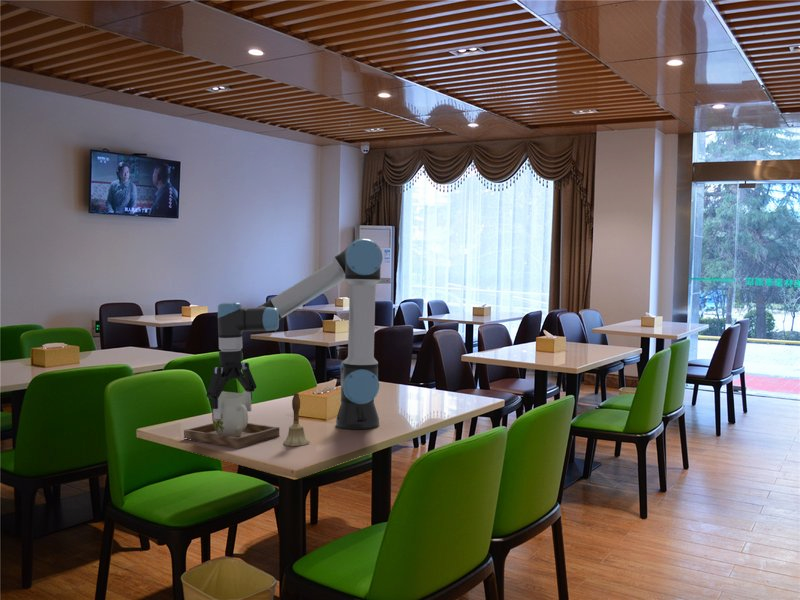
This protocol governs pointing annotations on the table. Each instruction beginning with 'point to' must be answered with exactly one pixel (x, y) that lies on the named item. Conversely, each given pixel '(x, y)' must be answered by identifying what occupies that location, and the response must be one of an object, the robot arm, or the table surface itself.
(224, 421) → the pitcher
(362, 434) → the table surface
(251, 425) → the tray
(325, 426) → the table surface
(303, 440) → the hand bell
